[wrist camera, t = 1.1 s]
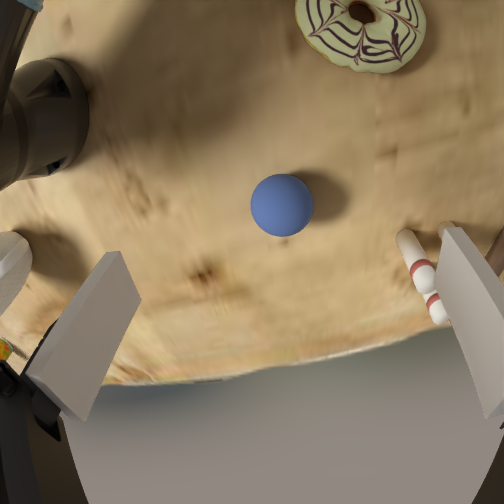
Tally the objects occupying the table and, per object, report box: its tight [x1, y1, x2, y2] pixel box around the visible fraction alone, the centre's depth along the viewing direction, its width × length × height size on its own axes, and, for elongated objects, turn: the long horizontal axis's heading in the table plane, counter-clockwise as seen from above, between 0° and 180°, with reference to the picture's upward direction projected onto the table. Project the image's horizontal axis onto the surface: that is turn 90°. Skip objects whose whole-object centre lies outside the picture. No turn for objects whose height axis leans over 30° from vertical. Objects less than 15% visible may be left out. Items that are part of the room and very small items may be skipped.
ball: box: [251, 174, 314, 237], centre depth 30 cm, size 6×6×6 cm
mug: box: [0, 231, 33, 316], centre depth 36 cm, size 15×11×13 cm
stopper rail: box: [449, 227, 504, 323], centre depth 33 cm, size 2×16×2 cm, turn 164°
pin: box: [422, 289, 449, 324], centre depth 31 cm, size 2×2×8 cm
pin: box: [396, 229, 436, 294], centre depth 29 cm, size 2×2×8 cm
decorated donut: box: [295, 0, 426, 74], centre depth 20 cm, size 11×12×4 cm
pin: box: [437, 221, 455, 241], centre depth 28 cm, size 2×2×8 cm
